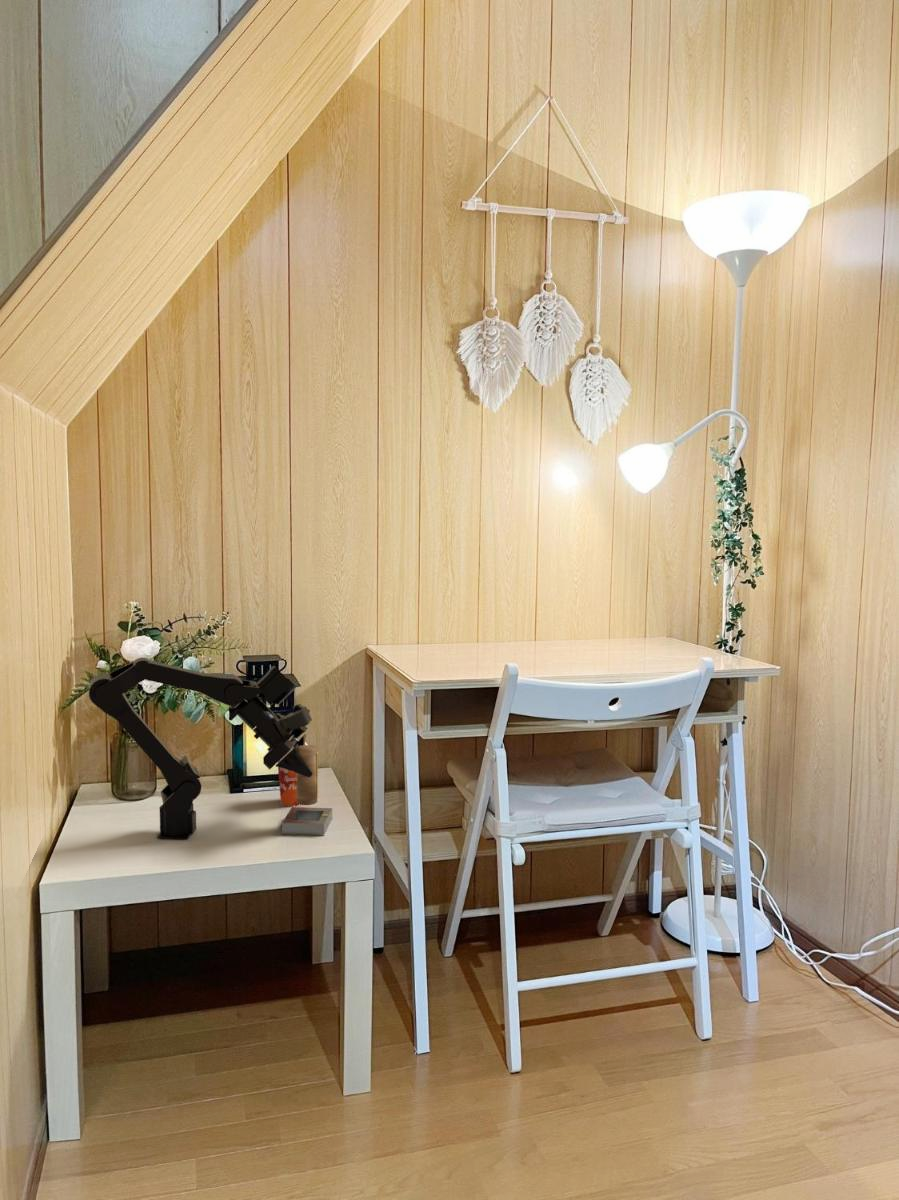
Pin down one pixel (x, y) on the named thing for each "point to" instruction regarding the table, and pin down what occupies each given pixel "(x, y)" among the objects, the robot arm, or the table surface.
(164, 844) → the table surface
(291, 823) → the grey square socket base
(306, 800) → the walnut peg
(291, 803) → the paper cup
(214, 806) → the table surface
